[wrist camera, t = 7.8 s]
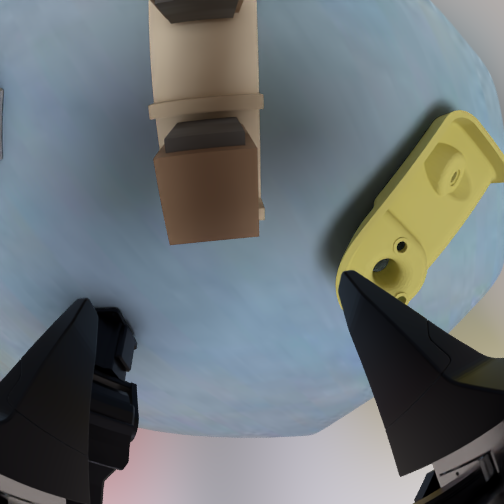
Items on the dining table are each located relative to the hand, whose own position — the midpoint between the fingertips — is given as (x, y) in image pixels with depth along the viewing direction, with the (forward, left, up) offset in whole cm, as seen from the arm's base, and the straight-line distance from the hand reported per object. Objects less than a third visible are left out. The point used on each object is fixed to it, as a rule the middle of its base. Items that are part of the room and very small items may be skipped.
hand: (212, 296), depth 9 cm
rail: (0, +6, -12) cm, 13 cm away
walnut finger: (0, +2, -10) cm, 10 cm away
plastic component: (+17, -3, -12) cm, 21 cm away
